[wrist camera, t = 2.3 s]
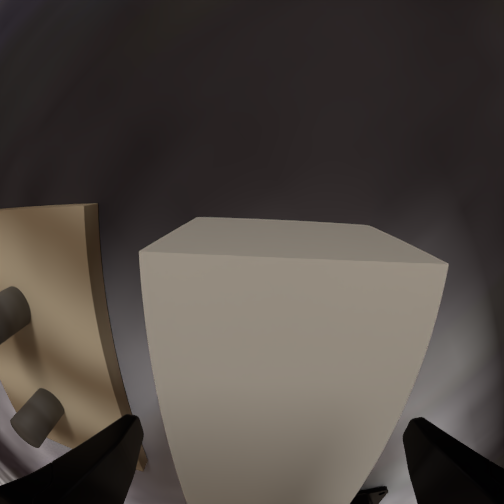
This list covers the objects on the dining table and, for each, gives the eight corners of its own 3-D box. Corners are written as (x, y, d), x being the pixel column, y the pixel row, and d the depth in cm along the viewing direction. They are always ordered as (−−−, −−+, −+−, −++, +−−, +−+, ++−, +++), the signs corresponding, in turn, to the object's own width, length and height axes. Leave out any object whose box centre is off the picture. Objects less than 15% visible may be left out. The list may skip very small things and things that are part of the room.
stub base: (147, 460, 13) (129, 508, 10) (30, 418, 14) (5, 450, 10) (97, 203, 10) (27, 218, 6) (-29, 211, 10) (-79, 224, 6)
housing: (321, 451, 13) (333, 525, 8) (209, 448, 13) (194, 524, 8) (368, 225, 10) (448, 263, 5) (197, 217, 10) (138, 251, 5)
